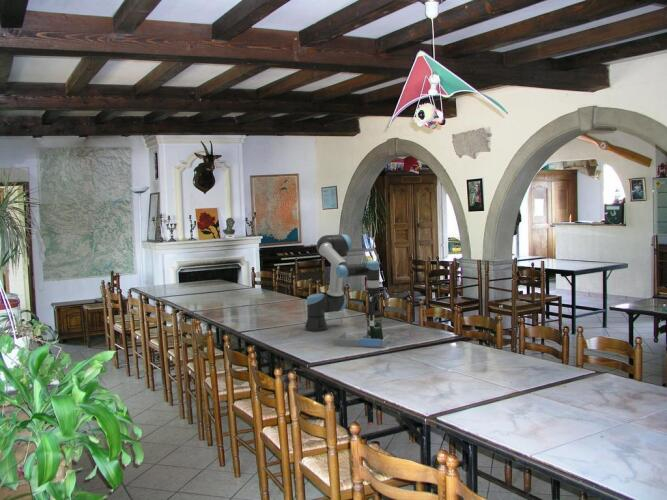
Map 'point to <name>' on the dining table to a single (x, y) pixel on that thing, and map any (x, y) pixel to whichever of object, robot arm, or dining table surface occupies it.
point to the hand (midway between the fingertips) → (374, 324)
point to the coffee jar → (375, 326)
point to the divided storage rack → (361, 341)
